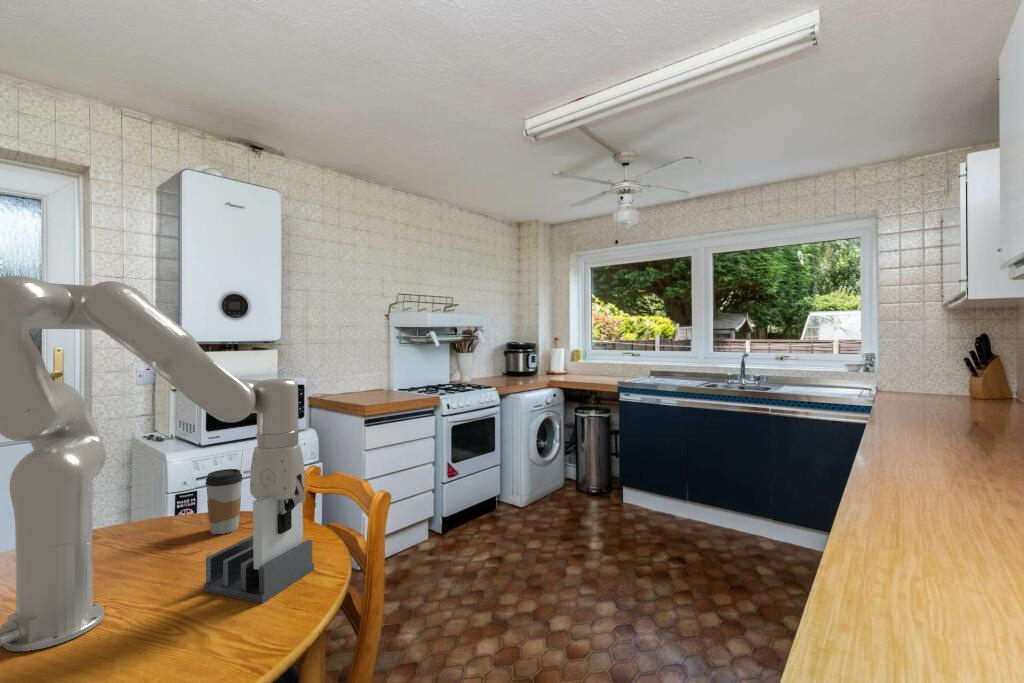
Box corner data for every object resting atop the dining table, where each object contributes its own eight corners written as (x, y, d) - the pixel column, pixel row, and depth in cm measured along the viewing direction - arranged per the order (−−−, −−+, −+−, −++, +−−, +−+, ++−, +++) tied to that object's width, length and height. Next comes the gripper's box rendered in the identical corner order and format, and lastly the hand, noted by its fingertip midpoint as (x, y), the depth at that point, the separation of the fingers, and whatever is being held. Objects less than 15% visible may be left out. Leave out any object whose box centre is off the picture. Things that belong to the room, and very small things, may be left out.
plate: (261, 570, 93) (261, 502, 93) (253, 568, 93) (252, 501, 93) (303, 546, 103) (302, 485, 103) (295, 545, 104) (294, 484, 104)
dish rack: (262, 603, 91) (262, 568, 91) (203, 591, 95) (203, 558, 95) (314, 569, 104) (313, 539, 104) (260, 560, 108) (260, 531, 108)
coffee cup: (250, 526, 129) (250, 469, 129) (223, 538, 121) (223, 478, 121) (225, 523, 131) (224, 467, 131) (197, 535, 123) (197, 475, 123)
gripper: (231, 441, 97) (232, 533, 97) (296, 446, 92) (297, 542, 92) (261, 434, 104) (262, 520, 104) (323, 438, 99) (324, 528, 99)
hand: (279, 530), depth 98 cm, fingers closed on plate, 2 cm apart
